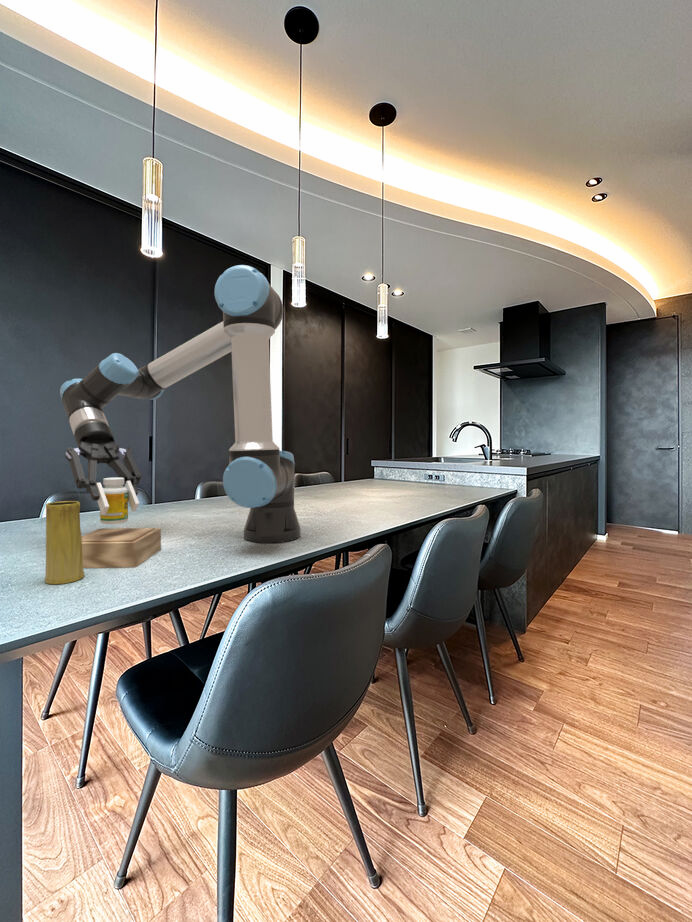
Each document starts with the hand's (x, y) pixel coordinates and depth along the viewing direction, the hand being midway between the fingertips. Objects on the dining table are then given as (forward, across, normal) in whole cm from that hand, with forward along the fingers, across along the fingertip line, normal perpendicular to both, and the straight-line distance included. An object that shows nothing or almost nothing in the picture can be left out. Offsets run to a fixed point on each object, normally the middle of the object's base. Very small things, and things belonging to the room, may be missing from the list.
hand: (121, 508), depth 88 cm
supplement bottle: (0, 0, -5) cm, 5 cm away
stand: (+6, 0, -10) cm, 12 cm away
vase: (+11, +12, -5) cm, 17 cm away
